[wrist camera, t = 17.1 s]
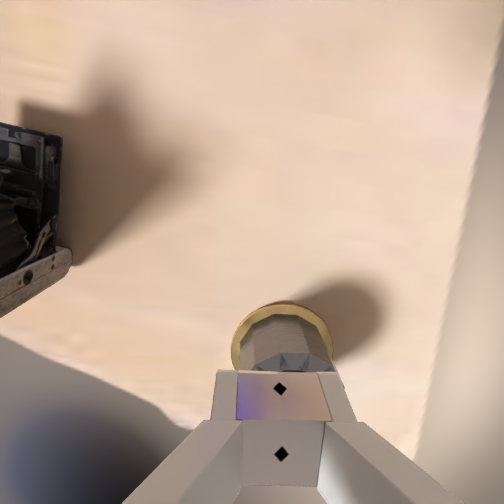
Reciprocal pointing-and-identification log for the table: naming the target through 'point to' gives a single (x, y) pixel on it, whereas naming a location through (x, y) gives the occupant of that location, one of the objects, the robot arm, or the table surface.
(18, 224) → the vintage camera
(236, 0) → the table surface
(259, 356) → the lens barrel
